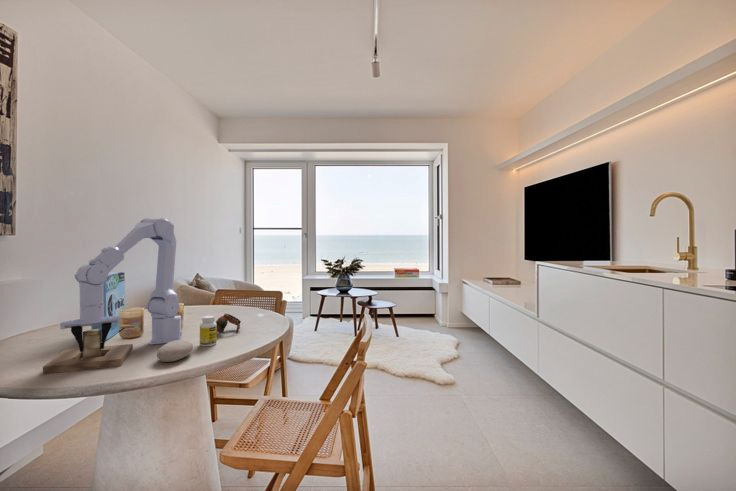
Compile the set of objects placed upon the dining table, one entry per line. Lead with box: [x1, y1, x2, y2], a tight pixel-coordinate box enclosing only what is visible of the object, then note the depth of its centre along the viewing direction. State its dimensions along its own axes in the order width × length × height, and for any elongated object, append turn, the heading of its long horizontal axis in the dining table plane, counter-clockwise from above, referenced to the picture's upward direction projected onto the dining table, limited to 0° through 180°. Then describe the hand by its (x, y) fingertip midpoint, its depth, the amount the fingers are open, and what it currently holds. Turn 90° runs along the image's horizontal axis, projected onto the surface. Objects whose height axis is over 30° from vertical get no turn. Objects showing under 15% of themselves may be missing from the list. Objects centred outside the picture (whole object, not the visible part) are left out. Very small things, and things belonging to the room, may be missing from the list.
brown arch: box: [215, 313, 242, 334], centre depth 144 cm, size 12×10×8 cm
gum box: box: [90, 271, 126, 342], centre depth 140 cm, size 20×5×23 cm, turn 16°
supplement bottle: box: [199, 315, 218, 347], centre depth 128 cm, size 5×5×10 cm
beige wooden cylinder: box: [82, 329, 102, 359], centre depth 111 cm, size 4×4×8 cm
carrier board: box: [42, 343, 134, 375], centre depth 111 cm, size 18×16×2 cm
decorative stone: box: [156, 339, 194, 363], centre depth 114 cm, size 13×9×5 cm
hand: (92, 349), depth 111 cm, fingers closed on beige wooden cylinder, 4 cm apart
